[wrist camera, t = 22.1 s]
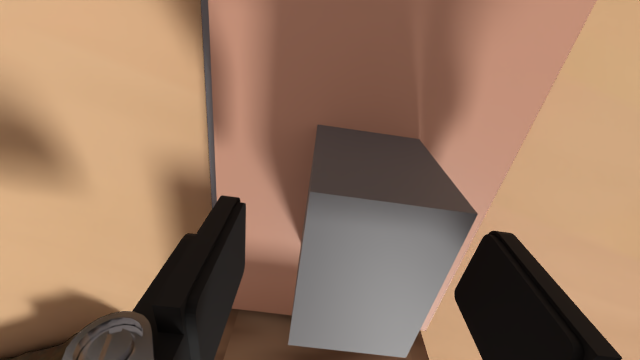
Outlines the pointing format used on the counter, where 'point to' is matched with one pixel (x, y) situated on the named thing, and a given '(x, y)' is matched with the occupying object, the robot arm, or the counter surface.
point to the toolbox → (284, 341)
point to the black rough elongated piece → (46, 353)
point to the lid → (372, 148)
